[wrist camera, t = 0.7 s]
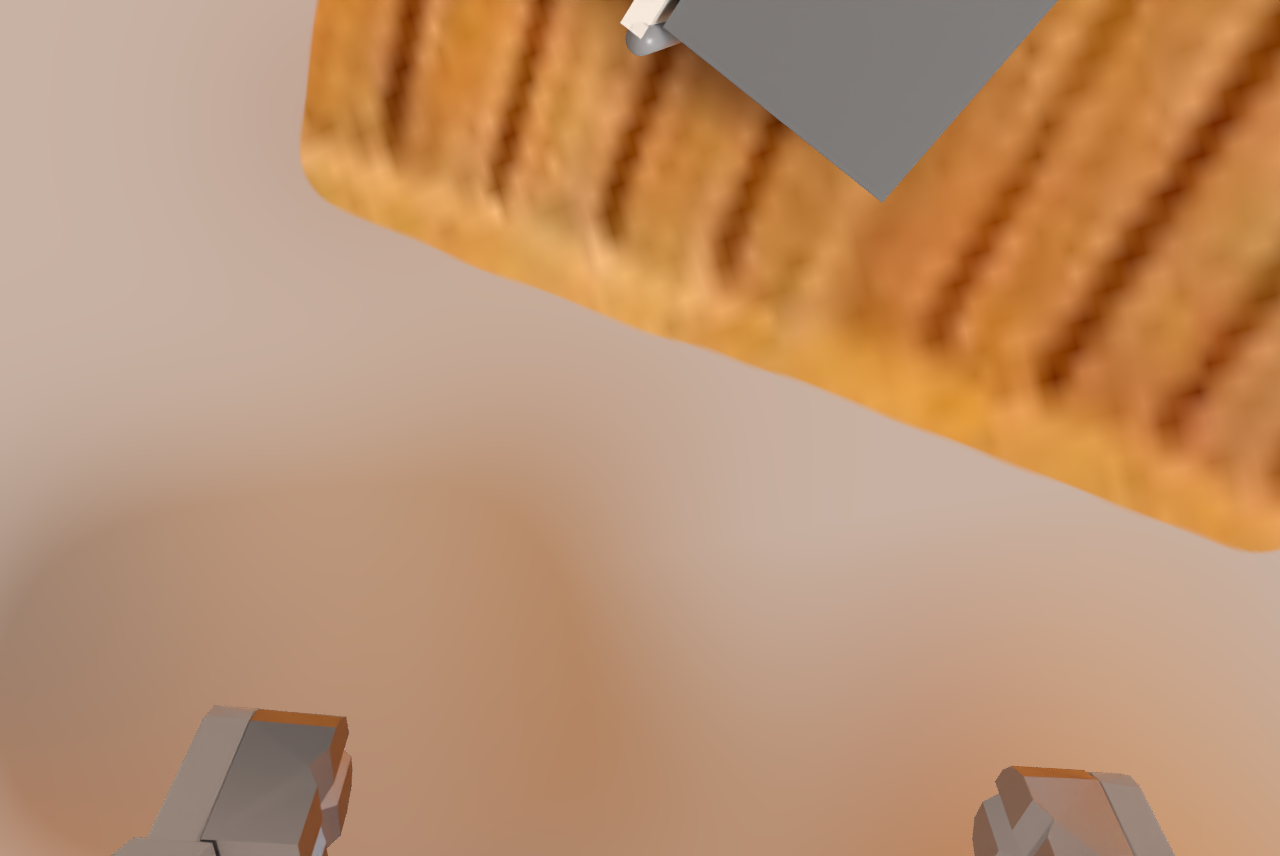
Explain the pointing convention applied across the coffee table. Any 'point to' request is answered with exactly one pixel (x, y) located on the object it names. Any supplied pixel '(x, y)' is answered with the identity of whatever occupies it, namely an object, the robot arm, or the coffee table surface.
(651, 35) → the thin white panel
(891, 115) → the gray box camera
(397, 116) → the coffee table surface
